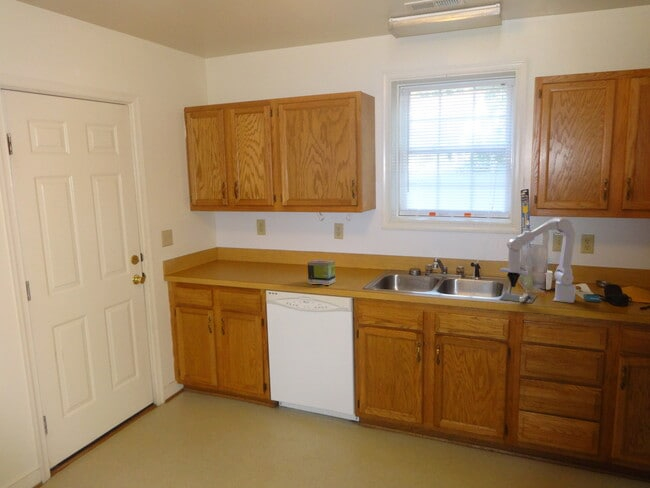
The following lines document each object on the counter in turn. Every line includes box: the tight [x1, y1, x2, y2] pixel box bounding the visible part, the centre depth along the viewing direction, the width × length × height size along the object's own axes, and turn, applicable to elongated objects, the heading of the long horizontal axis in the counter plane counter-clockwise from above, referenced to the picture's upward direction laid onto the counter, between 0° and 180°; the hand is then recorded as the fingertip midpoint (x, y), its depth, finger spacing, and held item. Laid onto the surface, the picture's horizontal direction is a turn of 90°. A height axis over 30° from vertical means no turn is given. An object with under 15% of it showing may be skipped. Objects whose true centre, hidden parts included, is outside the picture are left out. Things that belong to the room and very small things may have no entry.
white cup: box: [545, 269, 554, 291], centre depth 275 cm, size 8×8×10 cm
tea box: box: [307, 259, 336, 285], centre depth 304 cm, size 15×10×15 cm, turn 63°
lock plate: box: [499, 292, 537, 304], centre depth 258 cm, size 16×15×1 cm
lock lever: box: [518, 292, 531, 303], centre depth 253 cm, size 14×4×2 cm, turn 144°
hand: (513, 286), depth 251 cm, fingers closed
